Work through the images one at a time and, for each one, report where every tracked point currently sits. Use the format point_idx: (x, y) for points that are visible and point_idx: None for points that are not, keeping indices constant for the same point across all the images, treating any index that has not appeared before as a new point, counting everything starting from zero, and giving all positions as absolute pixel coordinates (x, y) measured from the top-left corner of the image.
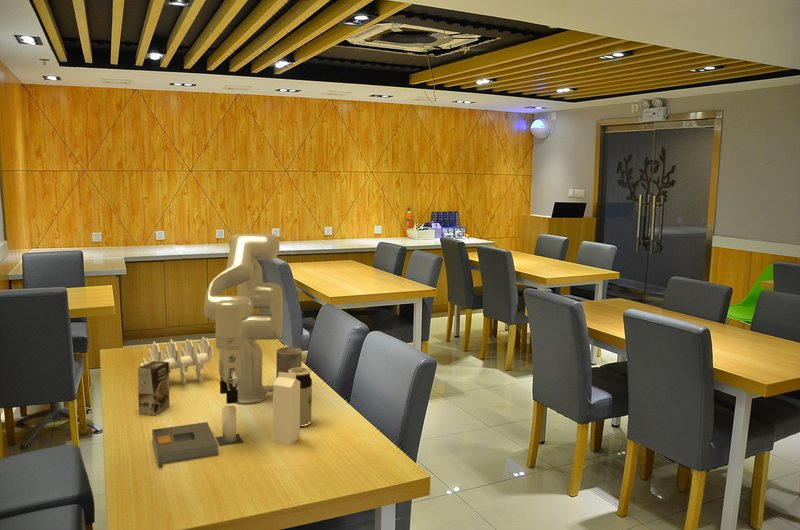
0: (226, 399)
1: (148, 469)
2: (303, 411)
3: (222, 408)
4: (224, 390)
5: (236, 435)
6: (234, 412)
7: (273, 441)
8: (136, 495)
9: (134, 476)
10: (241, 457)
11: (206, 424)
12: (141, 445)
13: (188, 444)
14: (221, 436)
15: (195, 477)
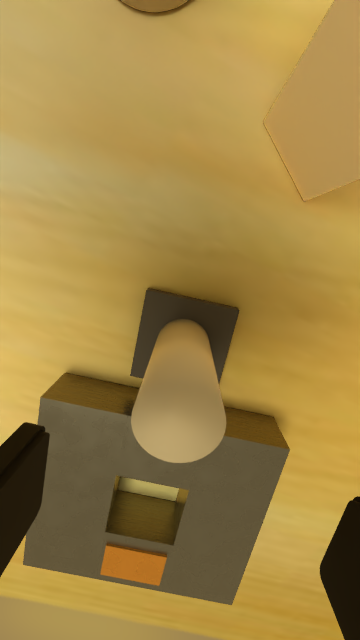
0: (344, 620)
1: None
2: None
3: (158, 457)
4: (27, 508)
5: (158, 304)
6: (219, 392)
7: (311, 198)
8: (335, 624)
9: (236, 604)
10: (322, 355)
11: (66, 409)
12: None
13: (220, 522)
14: (135, 355)
15: None
